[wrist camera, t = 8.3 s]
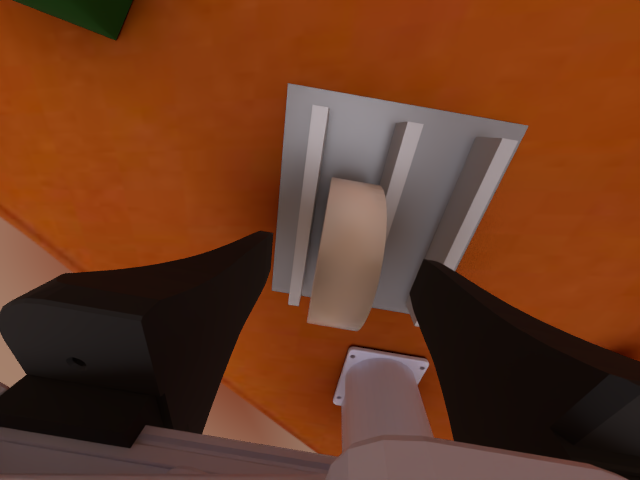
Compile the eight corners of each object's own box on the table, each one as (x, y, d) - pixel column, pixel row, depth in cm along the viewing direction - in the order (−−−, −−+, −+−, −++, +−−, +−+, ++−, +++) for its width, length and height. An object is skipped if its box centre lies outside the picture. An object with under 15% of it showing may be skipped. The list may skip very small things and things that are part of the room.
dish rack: (429, 312, 20) (443, 340, 18) (273, 286, 20) (263, 310, 17) (520, 126, 14) (566, 124, 11) (290, 85, 13) (278, 74, 11)
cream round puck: (345, 273, 18) (351, 367, 11) (315, 268, 18) (300, 358, 11) (371, 173, 15) (402, 213, 8) (333, 166, 15) (329, 201, 8)
